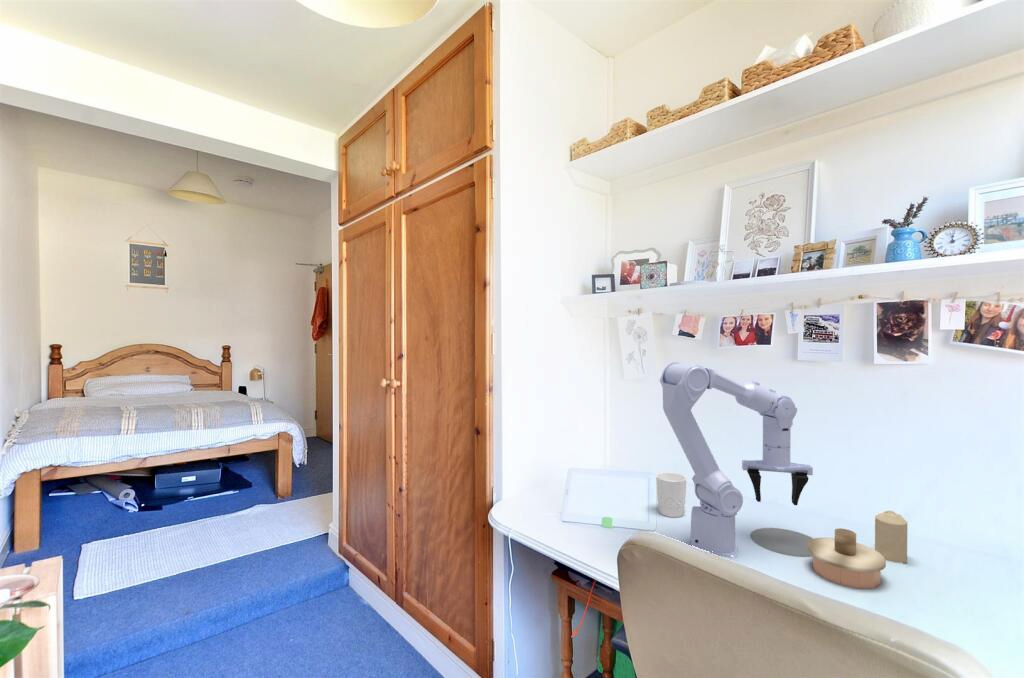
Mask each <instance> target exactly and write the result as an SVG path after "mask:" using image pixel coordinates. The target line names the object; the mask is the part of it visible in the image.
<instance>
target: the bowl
mask: <svg viewBox="0 0 1024 678" xmlns="http://www.w3.org/2000/svg"><path fill="white" fill-rule="evenodd" d="M812 568H813V571H814V572H816V573H817V574H818V575H820V577H822V578H823V579H825V580H828V581H830V582H833V583H835V584H837V585H841V586H845V587H850V588H855V589H875V588H876V587H878V586H879V585H881V570H880V571H876V572H860V571H853V570H848V569H844V568H840V567H836V566H833V565H831V564H828V563H826V562H823V561H821V560H819V559H818V558H816V557H815V556H813V557H812Z"/></svg>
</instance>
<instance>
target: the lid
mask: <svg viewBox="0 0 1024 678" xmlns="http://www.w3.org/2000/svg"><path fill="white" fill-rule="evenodd" d="M808 550H809V552H810V553H811V554H812V555H813V556H815V557H816V558H818V559H819V560H821V561H823V562H826V563H828V564H831V565H833V566H836V567H840V568H844V569H848V570H853V571H860V572H876V571H880V572H881V571H883V570H884V569H885V568H886V565H887V560H885V558H884V557H883V555H881V554H880V553H879V552H877V551H876V550H875V548H872V547H869V546H867V545H864V544H861V543H859V542H857V533H856V532H854V531H853V530H850V529H847V528H835V529H834V537H816V538H815V537H813V539H812V540H810V541H809V542H808Z"/></svg>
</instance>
